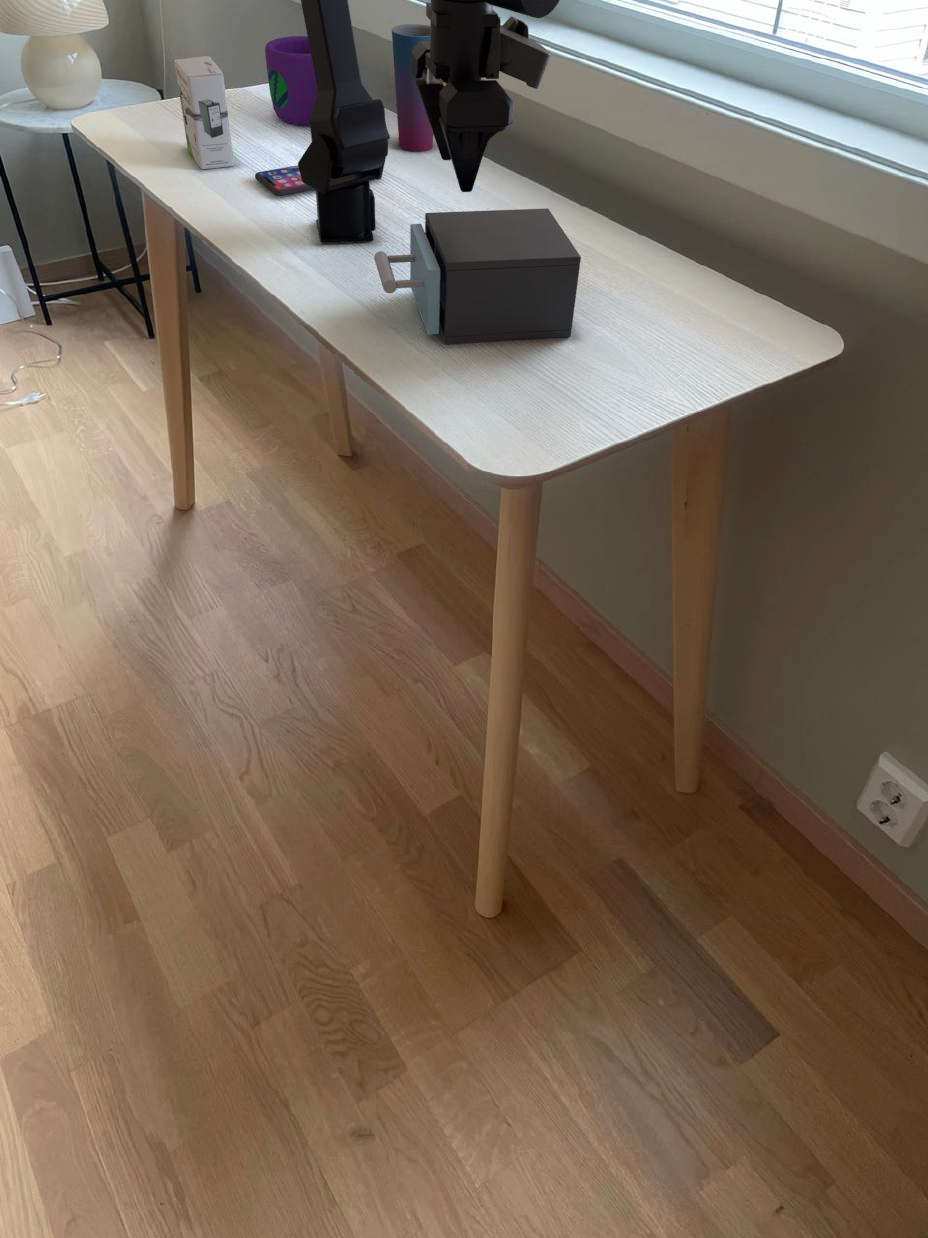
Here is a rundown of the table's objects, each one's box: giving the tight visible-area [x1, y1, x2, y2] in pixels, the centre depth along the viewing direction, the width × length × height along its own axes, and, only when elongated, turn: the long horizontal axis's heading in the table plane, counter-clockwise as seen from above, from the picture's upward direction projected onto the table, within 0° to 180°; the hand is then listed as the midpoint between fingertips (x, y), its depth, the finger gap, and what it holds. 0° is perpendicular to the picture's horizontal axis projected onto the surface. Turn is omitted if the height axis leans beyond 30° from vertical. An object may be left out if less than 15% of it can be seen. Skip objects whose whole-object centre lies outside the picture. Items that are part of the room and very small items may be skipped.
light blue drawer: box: [373, 223, 446, 335], centre depth 97 cm, size 17×11×7 cm
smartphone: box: [254, 164, 316, 198], centre depth 126 cm, size 8×1×15 cm
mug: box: [264, 35, 317, 126], centre depth 141 cm, size 17×11×10 cm, turn 43°
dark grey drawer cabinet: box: [424, 208, 582, 345], centre depth 98 cm, size 14×13×9 cm
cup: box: [391, 23, 434, 153], centre depth 133 cm, size 7×7×15 cm
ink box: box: [173, 55, 236, 170], centre depth 127 cm, size 9×5×12 cm, turn 25°
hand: (456, 174), depth 95 cm, fingers open, 9 cm apart
